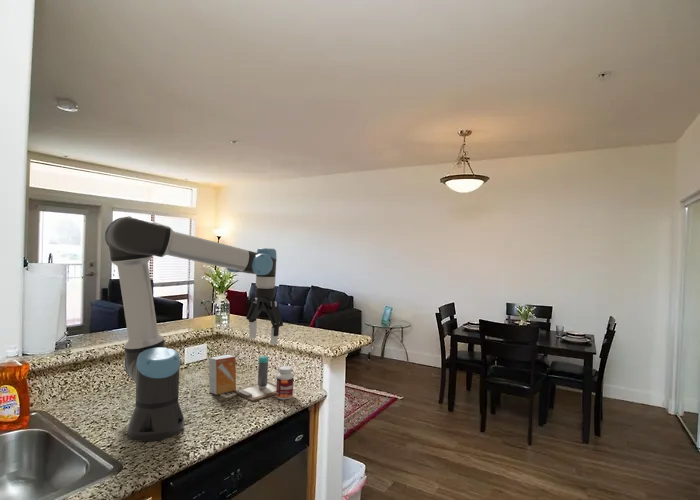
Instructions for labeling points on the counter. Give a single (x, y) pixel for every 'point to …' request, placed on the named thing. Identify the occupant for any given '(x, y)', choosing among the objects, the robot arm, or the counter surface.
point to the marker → (262, 372)
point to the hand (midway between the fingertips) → (263, 341)
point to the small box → (222, 374)
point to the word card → (228, 394)
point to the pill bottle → (284, 383)
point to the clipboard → (256, 392)
